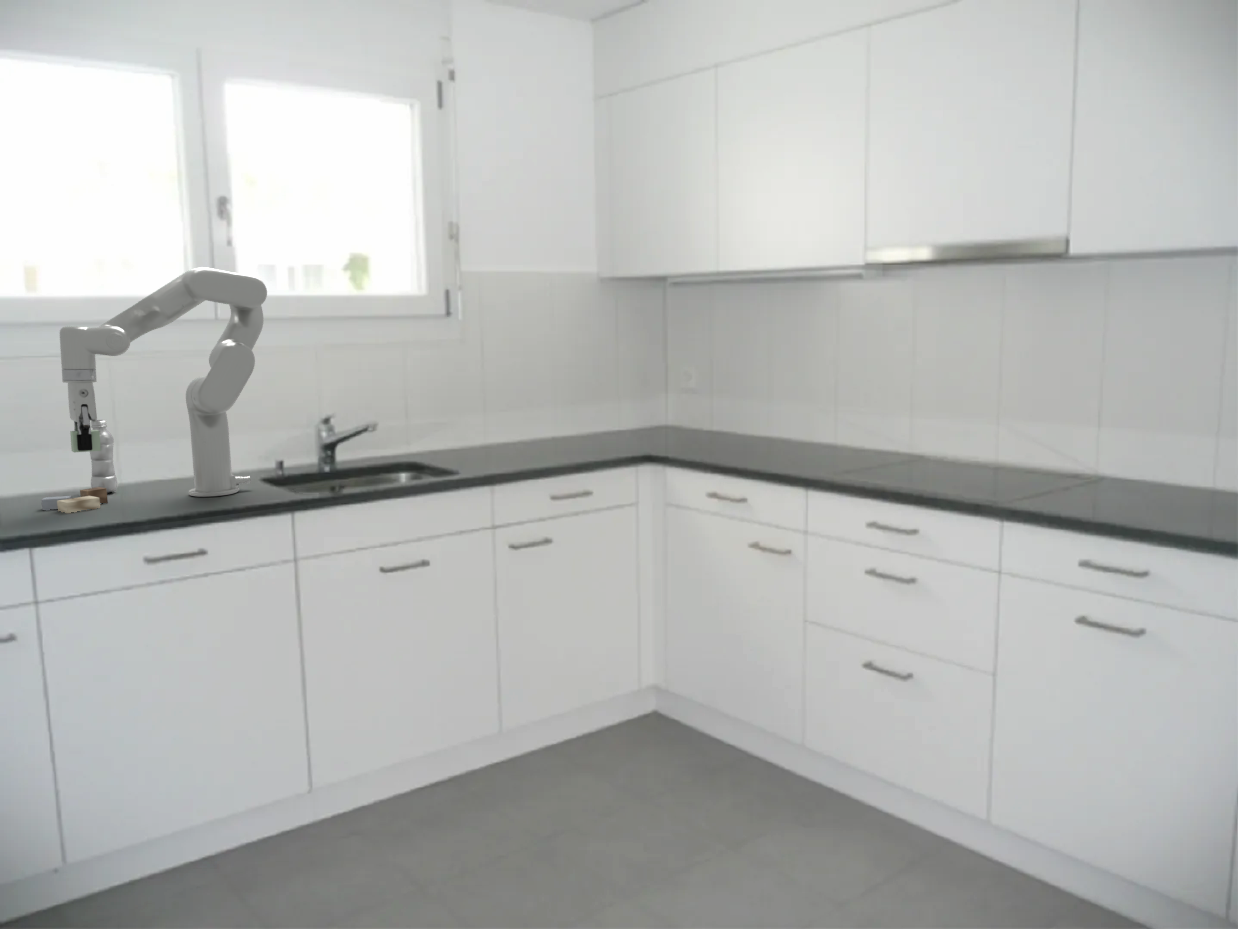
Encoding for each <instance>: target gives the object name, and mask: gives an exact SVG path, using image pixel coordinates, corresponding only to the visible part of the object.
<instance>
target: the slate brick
mask: <svg viewBox="0 0 1238 929" xmlns="http://www.w3.org/2000/svg"><path fill="white" fill-rule="evenodd" d="M65 499H72V495H65V496H64V495H63V496H47V497H43V498H42V499H41V500H40V501H41V508H42V510H46V511H51V510H50V509H58V506H57V501H59V500H65Z"/></svg>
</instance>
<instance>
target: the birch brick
mask: <svg viewBox="0 0 1238 929" xmlns="http://www.w3.org/2000/svg"><path fill="white" fill-rule="evenodd" d="M57 506H58V510H57V512H59V511H61V512H60V513H63V512H65V514H72V513H71V512H74V513H78V512H77V511H80V512H82V511H81V510H86V511H88V510H87V509H92V510H97V508H98V509H101V504H100V499H99V498H98V497H93V496H85V497H81V496H80V497H79V496H78V497H74V498H72V499H65V500H59V501H57Z"/></svg>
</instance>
